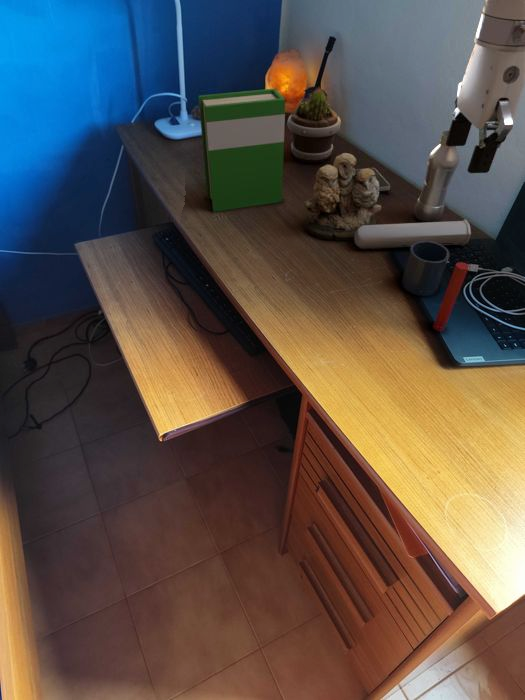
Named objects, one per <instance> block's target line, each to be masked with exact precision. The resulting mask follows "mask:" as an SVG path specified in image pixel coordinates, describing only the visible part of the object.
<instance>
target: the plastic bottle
mask: <svg viewBox="0 0 525 700" xmlns="http://www.w3.org/2000/svg"><path fill="white" fill-rule="evenodd" d="M448 133H449V130H444V131H442V132H441V135H440V138H439V141H438V143H439V144H438V145H437V146H435V147H434V149H433V150H431V152H430V154H429V155H428V159H427V166H426V172H425V178H424V183H423V186H422V188H421V190H420V194H419V196H418V198H417V200H416V202H415V205H414V211H413V212H414V216H415V218H416V219H417V220H419V221H421V222H422V223H428V222H438V221H439V220H440V219H441V217H442V216H443V214H444V209H445V201H446V198H447V193H448V190H449V186H450V184H451V181H452V179H453V177H454V174H455V172H456V171H457V169H458V166H459V164H460V154H459V150H458V149H457V146H447V145H446V140H447V137H448Z"/></svg>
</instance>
